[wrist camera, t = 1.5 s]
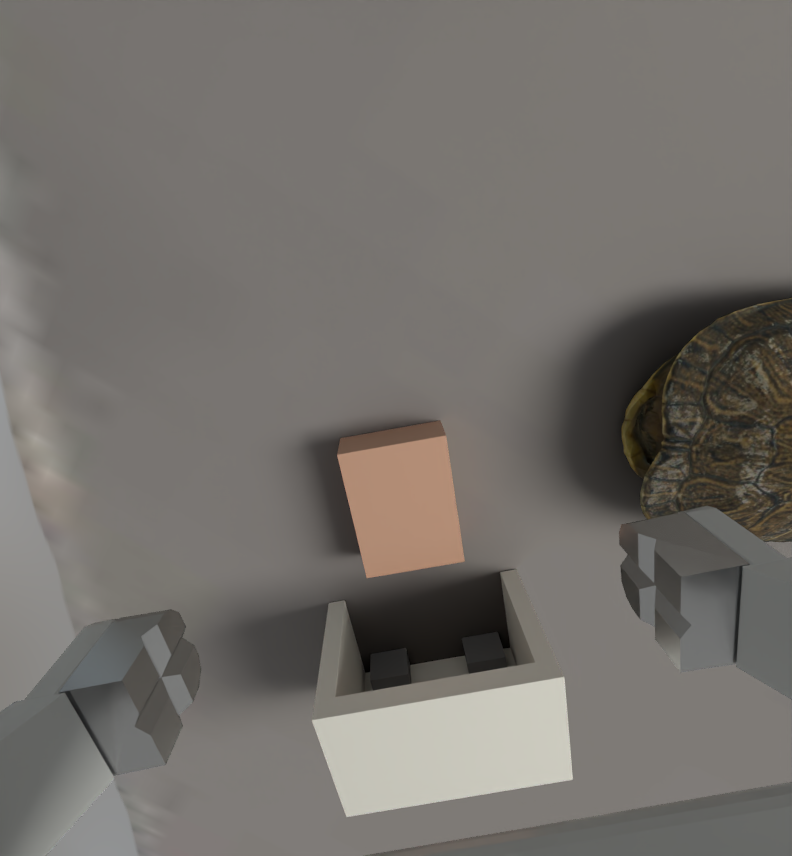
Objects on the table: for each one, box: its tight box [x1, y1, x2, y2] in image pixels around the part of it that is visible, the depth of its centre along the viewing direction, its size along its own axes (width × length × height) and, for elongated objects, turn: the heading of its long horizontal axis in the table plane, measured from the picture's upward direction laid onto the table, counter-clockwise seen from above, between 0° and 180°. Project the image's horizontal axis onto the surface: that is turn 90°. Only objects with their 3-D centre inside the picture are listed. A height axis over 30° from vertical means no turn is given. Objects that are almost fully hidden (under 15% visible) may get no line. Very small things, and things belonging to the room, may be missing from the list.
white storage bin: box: [312, 569, 573, 817], centre depth 31 cm, size 8×14×9 cm, turn 101°
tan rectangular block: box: [337, 421, 465, 578], centre depth 30 cm, size 9×6×3 cm
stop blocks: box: [370, 632, 507, 690], centre depth 35 cm, size 2×10×2 cm, turn 101°
